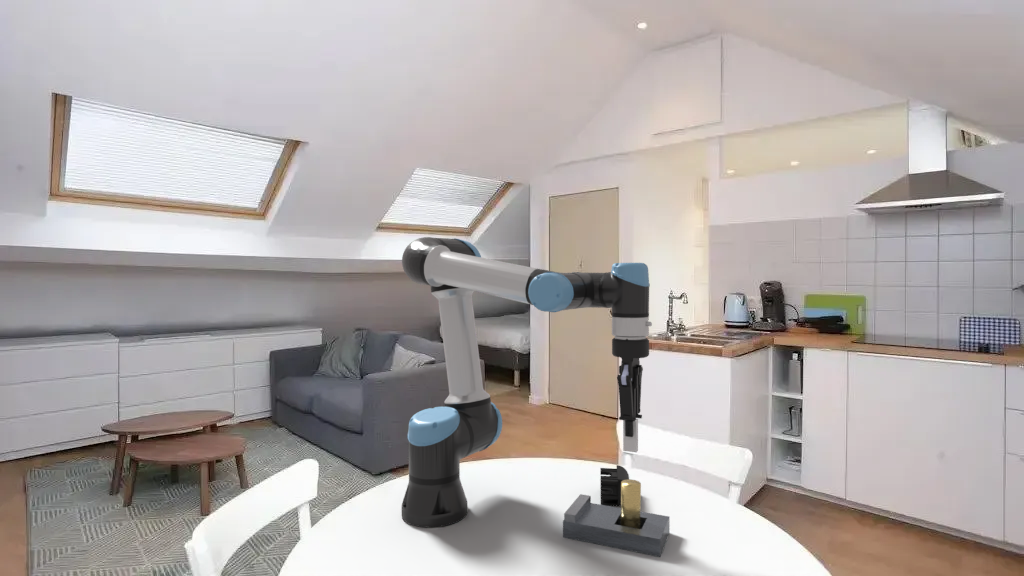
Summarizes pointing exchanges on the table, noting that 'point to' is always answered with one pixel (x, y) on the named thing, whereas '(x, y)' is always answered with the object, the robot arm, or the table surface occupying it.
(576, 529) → the jig
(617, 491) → the end cap
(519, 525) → the table surface
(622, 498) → the brass cylinder rod
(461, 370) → the robot arm
